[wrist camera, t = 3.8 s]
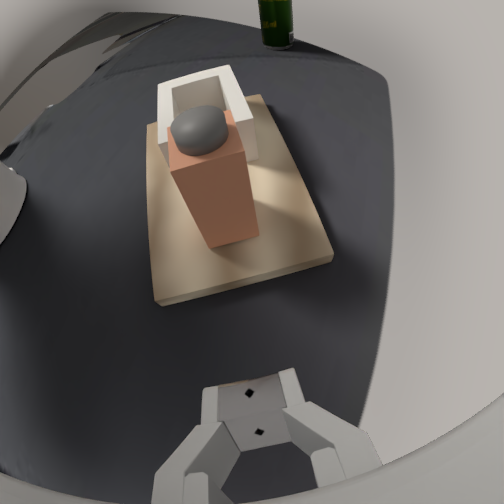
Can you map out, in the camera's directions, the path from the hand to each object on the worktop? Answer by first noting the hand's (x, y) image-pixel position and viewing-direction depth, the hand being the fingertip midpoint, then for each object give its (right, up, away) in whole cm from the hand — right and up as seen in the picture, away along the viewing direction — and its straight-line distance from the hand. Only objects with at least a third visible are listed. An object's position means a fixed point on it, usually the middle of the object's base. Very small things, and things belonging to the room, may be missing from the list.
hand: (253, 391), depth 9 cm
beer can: (+5, +40, +32) cm, 52 cm away
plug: (-2, +7, +14) cm, 16 cm away
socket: (-4, +16, +20) cm, 26 cm away
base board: (-3, +11, +19) cm, 22 cm away
